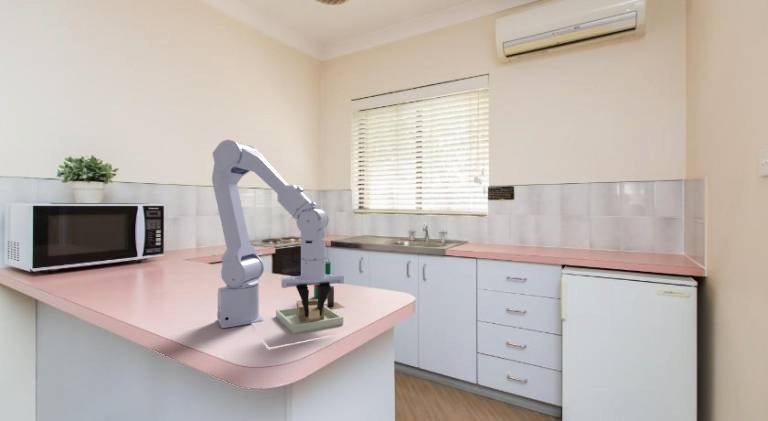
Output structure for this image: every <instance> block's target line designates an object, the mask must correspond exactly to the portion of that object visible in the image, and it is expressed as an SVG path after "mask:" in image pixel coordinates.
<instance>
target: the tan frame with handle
mask: <svg viewBox="0 0 768 421" xmlns="http://www.w3.org/2000/svg"><path fill="white" fill-rule="evenodd" d="M317 303H318V299H317V298H315V299H308V307H309V316H308V317H306V316H305V312H304V306H303V303H302V300H296V307H297V317H298V319H299V322H302V321H307V323H310V322H315V321H320V320H321V319H324V305H323V309H322V315H321V316H320V310H319V309H318V307H317Z"/></svg>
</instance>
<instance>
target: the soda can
mask: <svg viewBox="0 0 768 421" xmlns="http://www.w3.org/2000/svg"><path fill="white" fill-rule="evenodd" d="M331 266H332V265H331V261H330V259H329V258H327V257H325V275H332V274H331ZM330 286H332V284H330ZM313 297H314V298H315V299H318V293H317V285H313ZM326 299H327V297H326Z"/></svg>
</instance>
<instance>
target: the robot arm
mask: <svg viewBox="0 0 768 421" xmlns="http://www.w3.org/2000/svg"><path fill="white" fill-rule="evenodd" d="M212 157H213V162H214V163H213V169H212V176H211V181H212V187H213V190H214V195H215V196H214V197H215V200H216V204H217V209H218V214H219V218H220V223H221V227H222V232H223V236H224V242H225V246H226V250H225V252H224V253H223V255H222V257H221V271H220V272H221V273H220V275H221V276H220V277H221V279H222V281H223V283H224V284H225V286H222V287H219V288H218V289H217V313H216V314H217V315H216V316H217V322H218V324H219V325H220V328H221V329H226V328H233V327H238V326H239V327H240V326H245V325H251V324H254V323H260V322H264V319H263V318H262V316H261V315H260V311H259V310H260V308H259V307H260V306H259V305H260V300H259V299H260V298H259V296H260V292H259V290H260V286H259V285H260V284H259V283H260V278H261V277H262V275H263V273H264V270H265V266H264V262H263V260H262V259H261V257H260V256H259V254H258V250H257V248H255V247H254V246H253V245H252V244H251V243H250V238H249V232H248V228H247V224H246V223H247V222H246V220H245V215H244V209H243V206H242V200H241V196H240V195H241V194H240V192H239V186H238V183H239V182H240V180H241V179H242V178H243V177H244V176H245V175H247V174H248V173H250V172H253V173H255V174H256V175H257V176H258V177H259V178H260V179H261V180H263V182H264V183H265V184H266V185H267V186H269V187H270V188H271V189H272V190H273V191H274V192H275V193H276V194H277V203H279V204H280V206H282V207H283V208H284V209H285V211H286V212H288V214H290V216H291V217H292V218H293V219H294V220H295V221H296V222H295V223H296V227H297V228H298V230H299V231H300V275H297V276H291V277H283V278H281V288H282V289H287V288H290V287H291V288H292V287H295V288H296V289H297V292H298V294H299V297H300V299H301V300H300V301H302V303H303V306H304V312H305V316H306V317H308V316H309V307H308V300H309V295H310V291H309V287H308V286H314V285H317V293H318V303H317V307H318V309H319V310H320V316H321V315H322V309H323V305H324V304H325V302H326V299H327V298H326V297H327V295H328V293H329V291H330V284H331V285H333V284H340V285H341V284H344V283H345V282H344V281H345V280H344V279H345V276H344V275H343V274H342V273H341V274H340V273H339V274H338V273H336V274H331V275H325V258H326V228H327V227H328V225H329V215H328V214H327V212H326V210H325V209H324V208H321V207H317V205H318V204H317V203H316V202H315V201H311V200H310V199H309V197H308V196H307V195H306V194H305V193H304V188H302V187H301V186H297V185H296V184H288V183H287V182H286V181H285V179H284V178H283V177H282V176H281V175H280V174H279V173H278V172H277V170H276V169H275V168H274V167H273V166H272V164H270V162H269V161H267V160H268V159H266V158H265V156H264V155H263V154H262V153H260V152H259V151H258V150H257V149H256V148H255V147H254V146H252V145H247V144H243V143H241V142H235V141H234V140H231V139H225V140H222V141H221V142H219V143H218V145H217V146H216V147H215V149H214V150H213V151H212Z"/></svg>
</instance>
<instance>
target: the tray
mask: <svg viewBox="0 0 768 421" xmlns="http://www.w3.org/2000/svg"><path fill="white" fill-rule="evenodd" d="M275 317H276V319H278V320H279V321H280V322H281V323H282V325H284V326H285V327H286V328H287V329H288V330H289V331H290V332H291V333H292V334H295V335H296V334H299V333H305V332H310V331H315V330H320V329H325V328H329V327H330V328H331V327H335V326H339V325H344V316H342V315H341V314H339V313H337V312H335V311H334V310H331V309H329V308H328V307H326V306H324V319H321V320H320V321H315V322H310V323H307V321H302V322H299V319H298V317H297V306H295V307H288V308H282V309H276V310H275Z"/></svg>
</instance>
